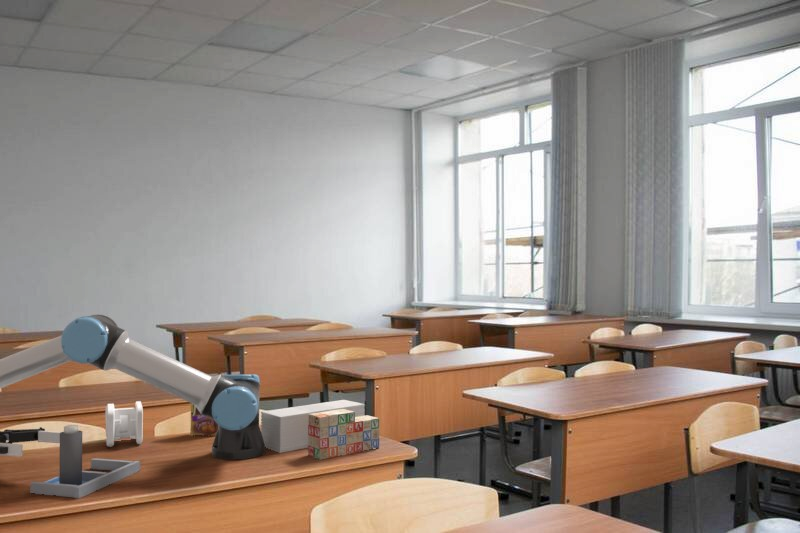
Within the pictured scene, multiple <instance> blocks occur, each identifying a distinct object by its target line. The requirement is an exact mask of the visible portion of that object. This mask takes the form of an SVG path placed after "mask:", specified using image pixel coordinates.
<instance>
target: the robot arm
mask: <svg viewBox="0 0 800 533" xmlns="http://www.w3.org/2000/svg"><path fill="white" fill-rule="evenodd" d="M72 361H73V362H75V363H78V364H83V365H84V364H88V365H90V366H93V367H96V368H98V369H100V370H103V371H109V370H113V369H114V370H117V371H119V372H121V373H124V374H125V375H128V376H130V377H133V378H134V379H137V380H139V381H142V382H143V383H146V384H148V385H150V386H153V387H155V388H157V389H158V390H162V391H164V392H166V393H168V394H170V395H172V396H175V397H177V398H180V399H181V400H183V401H186V402H188V403H189V404H191V403H192V404H194V405H197V406H198V408H199V411H200V414H202V415H205V416H207V417H209V418H211V419H213V420H215V422H216V423H217V424H218V430H217V433H216V436H214V440H213V442H212V445H211V455H212V457H214V458H217V459H220V460H221V459H222V460H246V459H253V458H258V457H259V456H263V455H264V454H265V453H266V448H265V443H264V440H263V437H262V434H261V426H260V386H261V381H260V376H259V375H258V374H253V373H252V374H251V373H250V374H221V373H220V374H217V375H214V376H212V375H209V374H207V373H205V372H203V371H201V370H198V369H196V368H194V367H192V366H190V365H189V364H188V365H187V364H186V363H183V362H182V361H179V360H177V359H175V358H172V357H170V356H168V355H166V354H164V353H162V352H159V351H157V350H155V349H153V348H150V347H148V346H146V345H145V344H142V343H139V342H138V341H136V340H133V339H131V337H130V336H129V333H128V331H127V330H125V329H123V328H121V327H119V326H118V325H117V323H116V321H115V320H114V319H112V318H111V317H109V316H107V315H105V314H91V315H87V316H86V315H85V316H80V317H76V319H73V320H72V321H70V322H69V323H68V324H67V326H65V328H64V330H63V331H62V333H61V335H59V336H57V337H54V338H52V339H49V340H46V341H43V342H41V343H39V344H36V345H34V346H33V345H32V346H31V347H28V348H26V349H23V350H20V351H17V352H16V353H13V354H11V355H7V356H5V357H2V358H0V389H3V388H5V387H8V386H10V385H12V384H16V383H18V382H21V381H23V380H25V379H28V378H30V377H33V376H36V375H38V374H40V373H44V372H46V371H48V370H50V369H53V368H56V367H59V366H61V365H64V364H66V363H68V362H72ZM61 432H62V431H52V430H51V431H49V430H46V429H45V428H43V427H42V426H40V427H39V428H28V429H27V428H26V429H24V428H23V429H8V428H7V429H4V430H2V431H1V430H0V456H7V457H19V458H20V457H23V444H22V443H25V442H26V443H27V442H38V443H46V444H47V443H50V444H60V433H61ZM19 443H21V444H19Z"/></svg>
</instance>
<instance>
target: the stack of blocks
mask: <svg viewBox="0 0 800 533" xmlns="http://www.w3.org/2000/svg"><path fill="white" fill-rule="evenodd" d="M308 438H309V445H308V448H307V449H308V450H307V451H308V456H309V457H312V458H315V459H318V460H325V459H330V457H331V458H335V456H337V457H340V455H342V456H346V454H347V455H350V454H349V453H352V454H356V453H355V452H357V453H360V452H359V451H362V452H365V451H364V450H368V451H370V450H369V449H373V448H378V449H380V418H379V417H375V416H371V415H368V414H367V415H365V414H364V416H358V417H355V412H354V411H350V410H346V409H338V410H331V411H325V412H319V413H312V414H309V425H308ZM373 450H374V449H373Z"/></svg>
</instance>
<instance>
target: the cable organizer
mask: <svg viewBox="0 0 800 533" xmlns="http://www.w3.org/2000/svg"><path fill="white" fill-rule="evenodd" d="M134 406H135V407H123V408H115V404H114V403H107V405H106V406H105V413H104V414H105V418H104V419H105V438H106V441H105V442H106V447H108V448H112V447H113V446H115V441H121V440H123V439H129V440H130V441H131V440H133V439H134V440H135V442H136V444H137V445H138V444H139V445H141V444H142V443H143V438H144V437H143V435H144V434H143V430H144V428H143V426H144V425H143V424H144V421H143V420H144V418H143V417H144V412H143V411H144V408H143V404H142V401H141V400H138V401H137V400H136V401H135V404H134Z"/></svg>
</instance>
